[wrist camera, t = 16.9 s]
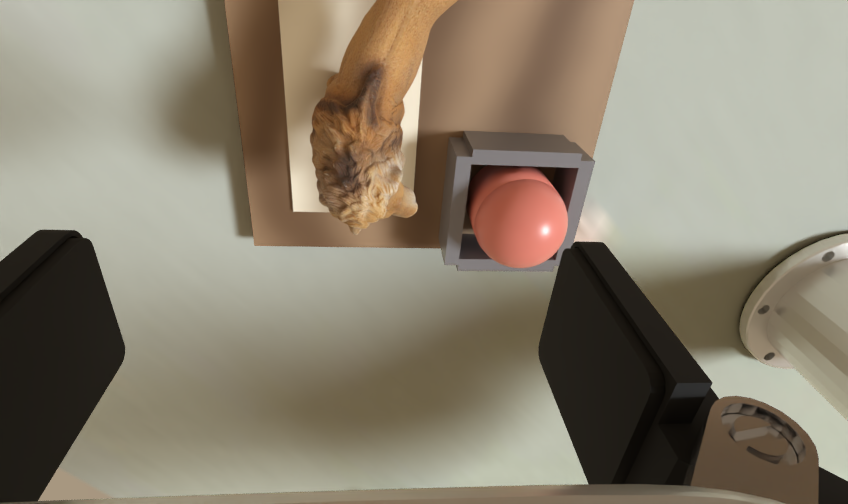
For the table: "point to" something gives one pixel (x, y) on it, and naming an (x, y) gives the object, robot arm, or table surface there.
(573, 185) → the dome housing
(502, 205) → the pop dome
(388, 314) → the table surface
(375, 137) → the lion figurine
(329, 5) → the brown flat square board
